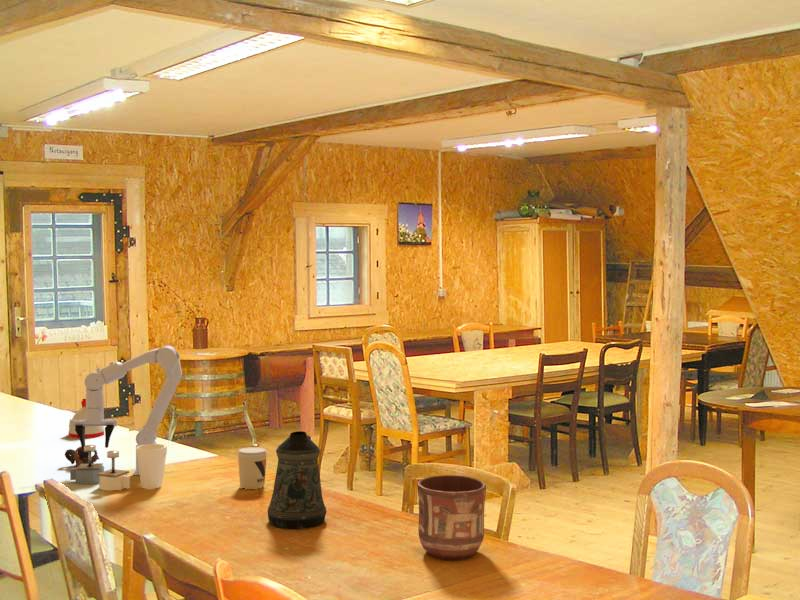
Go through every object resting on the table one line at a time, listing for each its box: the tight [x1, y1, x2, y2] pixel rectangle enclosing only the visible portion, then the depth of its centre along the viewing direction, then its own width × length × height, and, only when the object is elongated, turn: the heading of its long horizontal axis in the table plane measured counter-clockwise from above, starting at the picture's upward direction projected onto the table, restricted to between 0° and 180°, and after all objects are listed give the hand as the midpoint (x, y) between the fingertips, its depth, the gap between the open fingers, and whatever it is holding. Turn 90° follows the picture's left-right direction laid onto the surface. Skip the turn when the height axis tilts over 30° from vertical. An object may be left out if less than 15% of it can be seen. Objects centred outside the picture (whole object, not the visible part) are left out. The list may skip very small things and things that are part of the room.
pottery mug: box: [64, 445, 100, 468], centre depth 334 cm, size 12×10×8 cm
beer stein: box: [267, 430, 327, 531], centre depth 269 cm, size 16×19×25 cm
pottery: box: [416, 474, 487, 561], centre depth 241 cm, size 18×18×18 cm
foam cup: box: [135, 443, 168, 490], centre depth 306 cm, size 10×9×13 cm
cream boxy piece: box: [97, 468, 131, 491], centre depth 304 cm, size 10×8×5 cm
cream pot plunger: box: [106, 450, 120, 473], centre depth 304 cm, size 4×4×7 cm
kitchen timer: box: [68, 398, 105, 439], centre depth 391 cm, size 14×14×15 cm
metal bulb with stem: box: [84, 444, 97, 467], centre depth 313 cm, size 4×4×7 cm
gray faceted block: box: [69, 462, 105, 485], centre depth 313 cm, size 10×8×5 cm
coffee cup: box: [237, 446, 268, 490], centre depth 307 cm, size 9×9×12 cm
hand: (95, 447), depth 322 cm, fingers open, 7 cm apart
